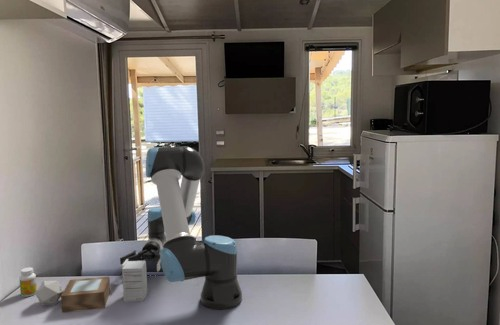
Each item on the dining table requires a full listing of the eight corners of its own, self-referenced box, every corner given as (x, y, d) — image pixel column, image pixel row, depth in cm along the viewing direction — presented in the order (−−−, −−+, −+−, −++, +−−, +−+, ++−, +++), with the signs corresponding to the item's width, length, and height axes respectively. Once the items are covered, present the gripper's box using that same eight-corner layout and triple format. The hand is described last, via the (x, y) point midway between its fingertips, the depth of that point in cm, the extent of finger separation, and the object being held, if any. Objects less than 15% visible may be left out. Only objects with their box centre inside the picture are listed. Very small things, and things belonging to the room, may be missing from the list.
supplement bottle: (17, 296, 146) (15, 271, 144) (28, 289, 151) (26, 266, 150) (29, 297, 144) (27, 273, 143) (40, 291, 150) (38, 267, 148)
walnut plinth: (110, 291, 149) (109, 276, 148) (104, 308, 137) (103, 291, 136) (71, 294, 146) (70, 279, 146) (62, 312, 134) (60, 295, 133)
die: (45, 312, 135) (62, 288, 137) (25, 299, 136) (42, 274, 138) (56, 309, 143) (72, 286, 145) (37, 296, 144) (53, 273, 146)
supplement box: (128, 292, 148) (126, 260, 147) (147, 291, 149) (146, 260, 147) (123, 301, 141) (121, 268, 139) (143, 301, 142) (142, 268, 140)
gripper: (180, 256, 174) (172, 276, 153) (124, 257, 174) (108, 277, 153) (180, 240, 173) (171, 258, 152) (123, 241, 173) (107, 259, 152)
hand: (140, 268), depth 152 cm, fingers open, 13 cm apart
